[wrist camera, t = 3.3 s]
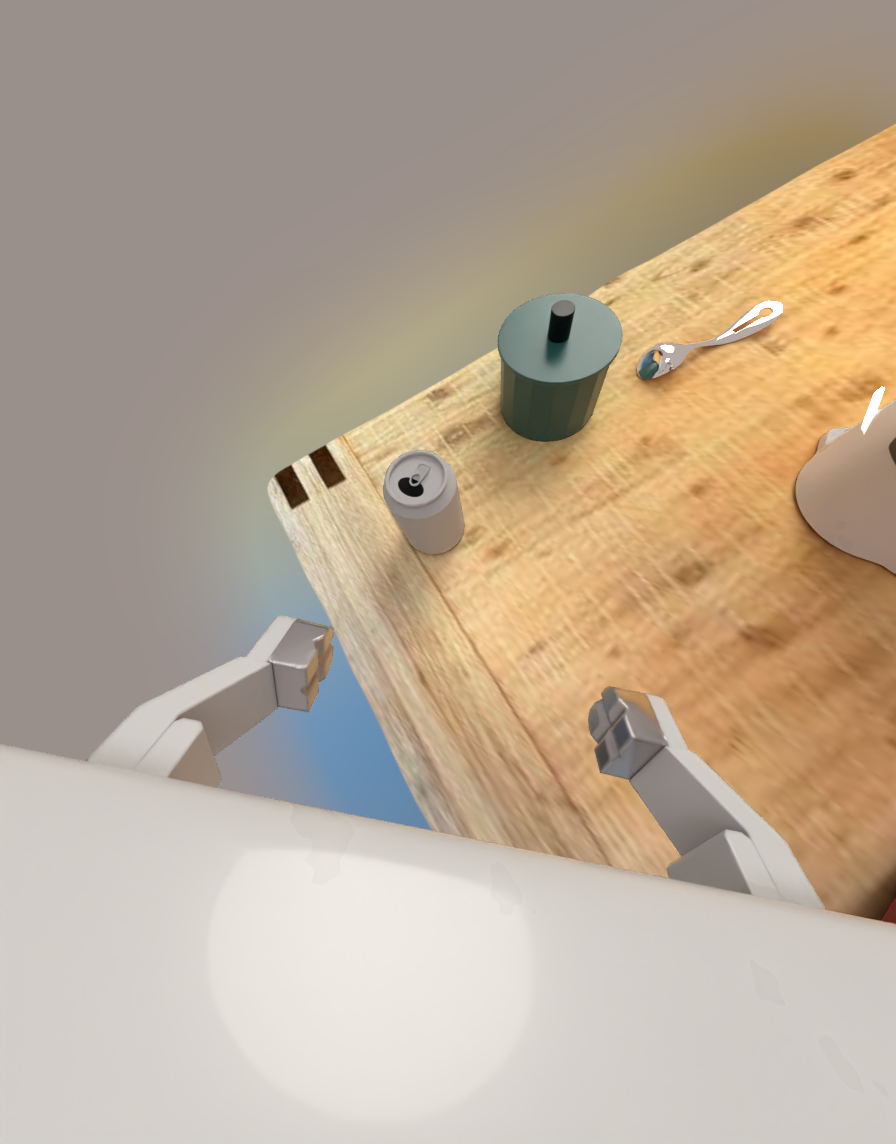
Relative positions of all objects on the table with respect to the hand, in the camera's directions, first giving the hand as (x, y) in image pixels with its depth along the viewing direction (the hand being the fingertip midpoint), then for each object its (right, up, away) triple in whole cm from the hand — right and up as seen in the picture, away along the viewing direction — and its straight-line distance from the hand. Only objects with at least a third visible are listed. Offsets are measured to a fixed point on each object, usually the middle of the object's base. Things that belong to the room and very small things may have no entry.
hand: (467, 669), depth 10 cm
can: (-2, +8, +34) cm, 35 cm away
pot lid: (+12, +29, +29) cm, 43 cm away
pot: (+13, +26, +38) cm, 48 cm away
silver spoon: (+35, +34, +38) cm, 61 cm away
